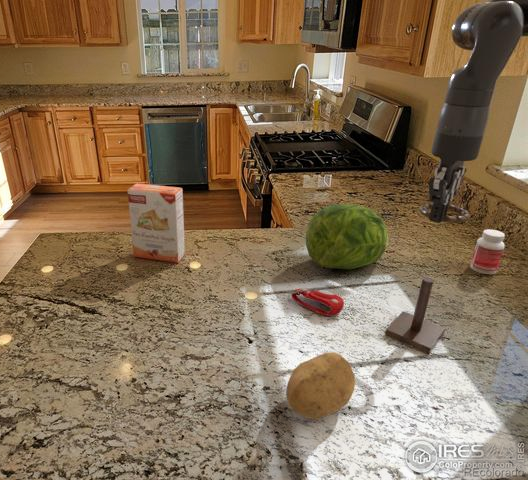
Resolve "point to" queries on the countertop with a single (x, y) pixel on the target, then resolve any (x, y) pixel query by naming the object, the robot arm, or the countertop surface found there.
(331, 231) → the lettuce
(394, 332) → the post
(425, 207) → the ring
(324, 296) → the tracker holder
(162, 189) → the cracker box
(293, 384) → the potato
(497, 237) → the pill bottle
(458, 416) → the countertop surface
